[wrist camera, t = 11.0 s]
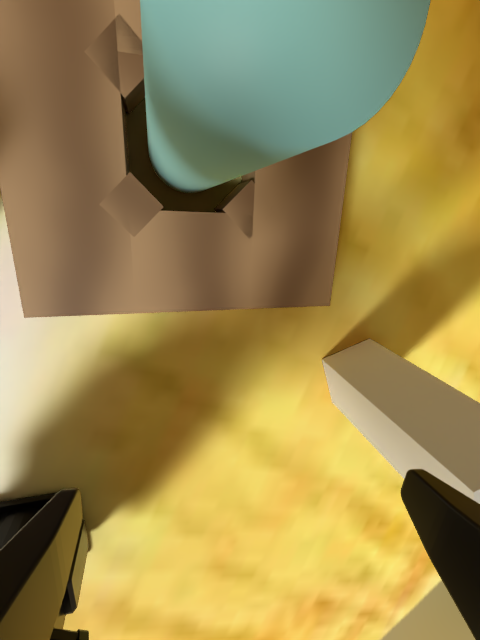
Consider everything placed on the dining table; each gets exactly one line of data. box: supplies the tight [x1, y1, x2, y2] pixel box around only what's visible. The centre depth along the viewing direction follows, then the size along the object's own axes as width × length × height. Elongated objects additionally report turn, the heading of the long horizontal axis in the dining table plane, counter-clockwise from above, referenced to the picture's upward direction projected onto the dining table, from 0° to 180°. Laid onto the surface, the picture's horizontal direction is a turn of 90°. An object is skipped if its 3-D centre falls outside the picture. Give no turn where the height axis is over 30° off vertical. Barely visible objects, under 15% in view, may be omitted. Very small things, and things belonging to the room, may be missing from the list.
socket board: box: [0, 0, 352, 318], centre depth 16 cm, size 16×16×2 cm
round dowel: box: [140, 0, 430, 193], centre depth 10 cm, size 4×4×14 cm
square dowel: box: [322, 339, 480, 504], centre depth 19 cm, size 4×4×12 cm
